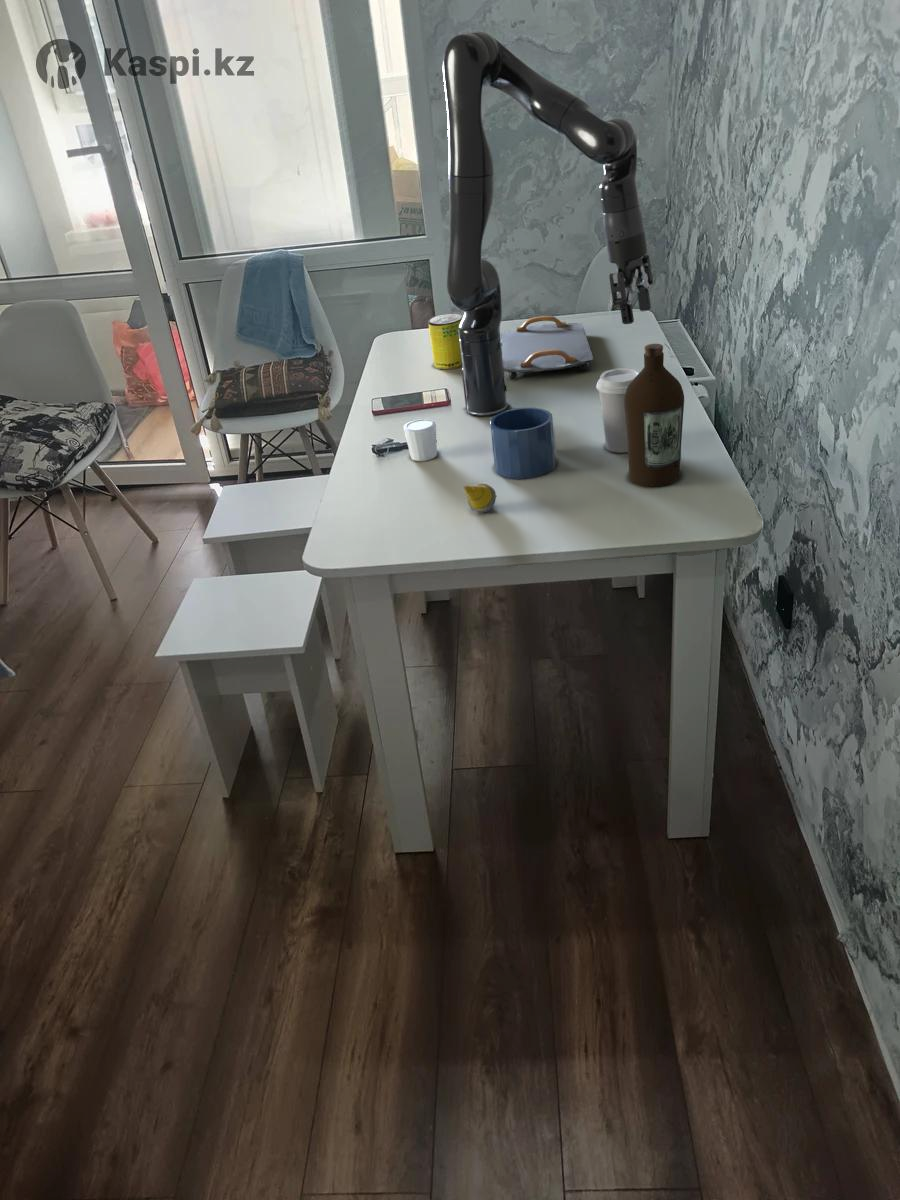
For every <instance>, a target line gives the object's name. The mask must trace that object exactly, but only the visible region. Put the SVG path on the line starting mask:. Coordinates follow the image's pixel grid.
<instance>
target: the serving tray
mask: <svg viewBox="0 0 900 1200" xmlns="http://www.w3.org/2000/svg"><path fill="white" fill-rule="evenodd" d="M539 322H553V323H548V324H547V323H546V324H545V323H544V324H538V325H531V324H533V323H534V324H535V323H539ZM530 325H531V326H530ZM500 338H501V348H502V358H503V369H504V373H505V372H506V373H508V378H509V380H512V381H513V380H516V379H517V377H518V373H535V372H538V373H539V372H547V371H556V370H565V369H568V368H574V367H578V366H579V368H580V370H581V372H583V373H584V372H588V370H589V368H590V365H589V364H590V363H593V362H594V360H595V359H594V356H593V353H592V348H591V346H590V343H589V341H588V336H587V334H586V331H585V329H584V325H583V324H582V323H578V322H571V323H569V322H566V321H561V320H560V319H559V318H557V317H555V316H553V315H539V316H533V317H530V318H528V319H527V320H525V321H524V322H523V324H522V325H521V326H518V327H516V328H515V329H512V330H506V331H504V332H502V333H500Z"/></svg>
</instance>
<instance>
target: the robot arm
mask: <svg viewBox="0 0 900 1200" xmlns="http://www.w3.org/2000/svg"><path fill="white" fill-rule="evenodd" d="M442 73H443V74H442V75H443V82H444V92H445V101H446V111H447V112H446V113H447V129H448V130H447V137H448V139H447V140H448V197H449V199H448V200H449V253H448V265H447V275H446V276H447V277H446V289H447V290H446V291H447V293H448V298H449V300H450V302H451V303H452V305H453V306H454V307H455V308H456V309H458V310H460V311H462V312H463V315H462V321H461V323H460V325H459V328H458V331H459V340H460V348H461V356H462V364H463V366H462V369H461V377H462V378H461V379H462V387H463V394H464V404H465V408H466V409H467V411H466V412H467V413H468V414H470V415H473V416H477V417H488V416H495V415H497V414H499V413H501V412H504V411H506V410H507V408H508V402H507V393H508V389H507V385H506V382H505V381H506V380H505V372H504V369H503V358H502V346H501V328H500V327H501V324H502V323H501V322H502V316H503V314H502V313H503V309H502V291H501V290H502V289H501V281H500V276H499V273H498V271H497V269H496V267H495V266H494V265H493V263H492V262H491V261H490V260H487V259H484V258H482V251H483V250H482V249H483V247H482V246H483V240H484V235H485V231H486V228H487V225H488V222H489V218H490V216H491V215H490V214H491V211H492V206H493V203H494V194H495V164H494V158H493V157H494V156H493V153H492V150H491V147H490V143H489V140H488V138H487V135H486V131H485V128H484V124H483V117H482V115H483V113H482V99H483V98H482V97H483V87H489V88H492V89H494V90H497V91H499V92H502V93H504V94H506V95H507V96H509V97H511V98H512V99H514V100H515V101H516V102H517V103H519V104H520V106H521V107H523V109H524V110H525V111H526V112H527V113H528V114H529V115H530V116H531V117H532V118H533V119H534V120H535V121H536V122H538V123H539V124H540V125H542V126H543V127H545V128H547V129H548V130H550V131H551V132H553V133H555V134H557V135H559V136H560V137H562V138H564V139H565V140H568V142H569V143H570V144H571V145H572V146H573V147H574V148H575V149H576V150H577V151H578V152H579V153H580V154H582V155H583V156H584V157H585V158H587V160H590V161H591V162H593V163H595V164H599V165H603V178H602V180H601V182H600V184H599V197H600V198H599V199H600V204H601V212H602V219H603V220H602V222H603V224H602V225H603V232H604V237H605V243H606V244H605V245H606V251H607V257H608V261H609V262H610V263H611V264H615V265H616V272H613V273H609V276H608V277H609V285H610V293H611V301H612V305H613V306H618V307H619V311H620V317H621V323H622V324H623V325H632V324H633V323H634V322H635V318H634V312H633V311H634V310H633V305H632V298H633V297H632V296H633V294H634V293H635V292H636V294H637V301H638V308H639V311H640V312H646V311H649V310H651V309H652V304H651V298H650V290H651V286H652V285H654V279H653V273H652V267H651V266H652V265H651V260H650V255H649V254H648V246H647V239H646V231H645V224H644V217H643V214H642V213H643V212H642V209H641V205H640V198H639V189H638V185H637V168H638V163H637V162H638V161H637V160H638V142H637V138H636V136H637V135H636V131H635V129H634V127H633V126H632V124H631V123H630V122H629V121H628V120H627V119H625V118H622V117H614V118H611V119H608V120H604V119H602V118H600V117H599V116H597V115H596V114H595V113H593V112H592V109H591V108H592V107H591V106H590V104H588V102H586V101H585V100H584V99H582V98H581V97H579V96H577V95H576V94H574V93H572V92H570V91H569V90H567V89H565V88H563V87H562V86H560V85H558V84H557V83H555V82H553V81H551V80H550V79H548V78H547V77H545V76H543V75H541V74H540V73H538V72H537V71H536V70H534V69H533V68H531V67H530V66H529V65H528V64H526V63H525V62H524V61H522V60H521V59H520V58H518V57H517V56H516V55H515V54H514V53H512V51H510V50H509V49H508V48H507V47H506V46H505V45H504V44H502V43H501V42H500V41H499V40H498V39H496V38H495V37H494V36H493V35H491V33H488V32H485V31H481V30H480V31H479V30H478V31H471V32H464V33H459V34H457V35H455V36H453V37H451V39H450V40H449V41H448V42H447V44H446V47H445V48H444V52H443V57H442Z"/></svg>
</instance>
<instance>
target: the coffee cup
mask: <svg viewBox="0 0 900 1200" xmlns="http://www.w3.org/2000/svg"><path fill="white" fill-rule="evenodd" d="M640 372H641V370H638V369H634V368H627V367H626V368H623V367H622V368H621V367H620V368H613V369H610V370H605V371H604V372H602V373H601V374H600V375H599V379H598V380H597V383H596V386H595V388H596V390H597V391H598V393H599V402H600V408H601V417H602V424H603V433H604V440H605V441H604V442H605V448H606V450H607V451H609V452H612V453H618V454H620V453H622V454H623V453H628V447H627V433H626V420H625V407H624V398H625V393H626V390H627V387H628V386H629V384H630V383H631V382H632V380H633V379H634V378H635V377H636V376H637V375H638V374H639V373H640Z"/></svg>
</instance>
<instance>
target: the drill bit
mask: <svg viewBox="0 0 900 1200" xmlns="http://www.w3.org/2000/svg"><path fill="white" fill-rule="evenodd" d="M463 489H464V492H465V494H466V496H467V502H468V506H469V508H470V509H471V510H473V511H474V512H476V513H479V514H482V513H483V514H484V513H486V512H488V511H490V510H491V509H492V508H493V507H494V505H495V503H496V499H497V494H496V491H495V489H494V488H493V487H492V486H491V485H489V484H487V483H478V484H476V485H465V486H463Z"/></svg>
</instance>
